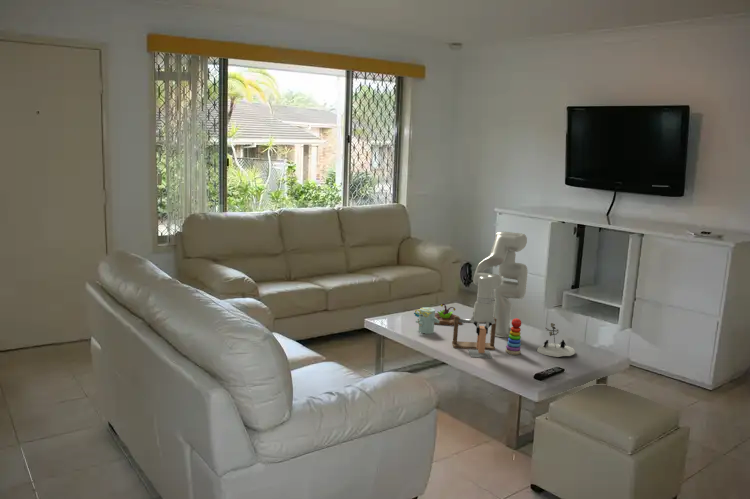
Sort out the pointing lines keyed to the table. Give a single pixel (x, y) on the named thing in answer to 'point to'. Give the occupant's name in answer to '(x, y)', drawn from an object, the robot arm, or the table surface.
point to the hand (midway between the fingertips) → (481, 334)
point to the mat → (480, 354)
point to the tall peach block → (481, 340)
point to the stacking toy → (514, 338)
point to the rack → (471, 344)
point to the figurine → (555, 347)
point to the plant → (445, 316)
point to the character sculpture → (426, 320)
